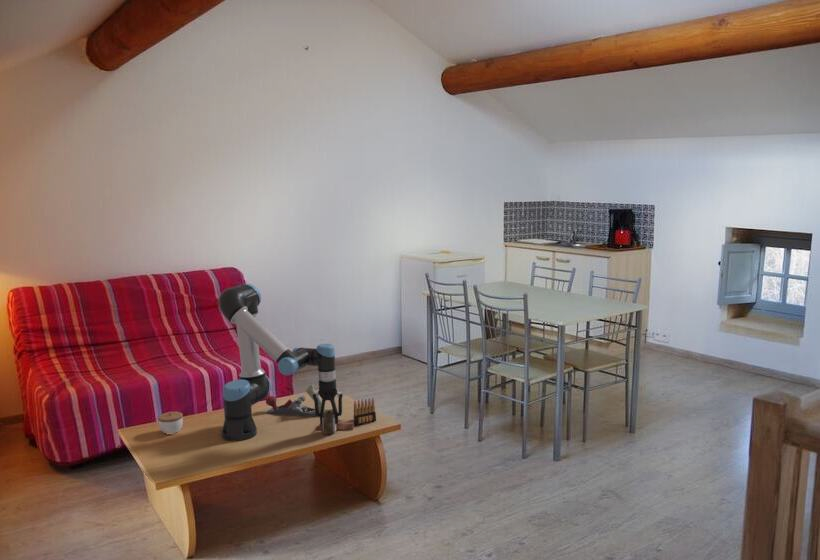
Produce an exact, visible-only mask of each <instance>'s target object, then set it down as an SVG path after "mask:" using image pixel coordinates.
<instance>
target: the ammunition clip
mask: <svg viewBox="0 0 820 560" xmlns="http://www.w3.org/2000/svg"><path fill="white" fill-rule="evenodd" d="M360 401H361V402H360ZM376 413H377V412H376V405H375V399H374V396H372V398H370V397H368V399H367V398H365V399H363V398H362V399H361V400H360V399H358V400H357V401H356V400H354V402H353V416H352V417H353V418H352V420H354V424H355V425H354V427H356V426H362V425H367V424H371V423H370V422H372V423H375V422H374V421H376V422H377V415H376ZM366 423H367V424H366Z"/></svg>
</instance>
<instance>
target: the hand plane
mask: <svg viewBox="0 0 820 560" xmlns="http://www.w3.org/2000/svg"><path fill="white" fill-rule="evenodd" d="M305 392H306V394H307V395H308V396H309V397H310V398H311V399H312V401H314V398H313V394H314V393H317V392H316V390H315V386H314V383H312V384H310V385H309V386H308V387H307V389H306V390H305ZM306 398H307V397H306V396H305V395H300V396H299V397H297V398H296V399H295V400H294V401H293V400H291V399H288V400H287V401H286V402H285V403H284V404H281V405H280V406H278V405H277V397H276V396H274V395H270V396H267V398H265V404H266V405H268V406H270V407H271V408H270V409H268V410H267V411H266V414H270V415H271V414H272V415H282V414H285V415H286V416H297V415H298V417H299V416H301V417H313V416H316V414H315V407H314V408H313V407H309V406H306V405H305V404H302V403H303V402H305V401H306V400H307V399H306ZM318 403H319V412H320V411H321V404H322V398H321V397H320V395H318ZM325 410H326V407H325V408H324V411H325ZM310 411H311V412H310ZM317 418H320V417H319V416H318V417H317Z"/></svg>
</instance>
